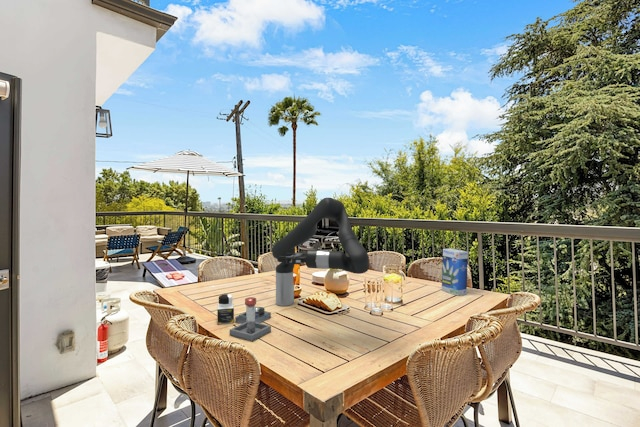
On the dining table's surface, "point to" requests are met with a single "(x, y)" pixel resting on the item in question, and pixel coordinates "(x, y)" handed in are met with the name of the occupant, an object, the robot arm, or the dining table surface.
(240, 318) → the tensioner block
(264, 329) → the tray
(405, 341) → the dining table surface
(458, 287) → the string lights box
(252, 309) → the pin
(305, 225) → the robot arm
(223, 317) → the medicine bottle
